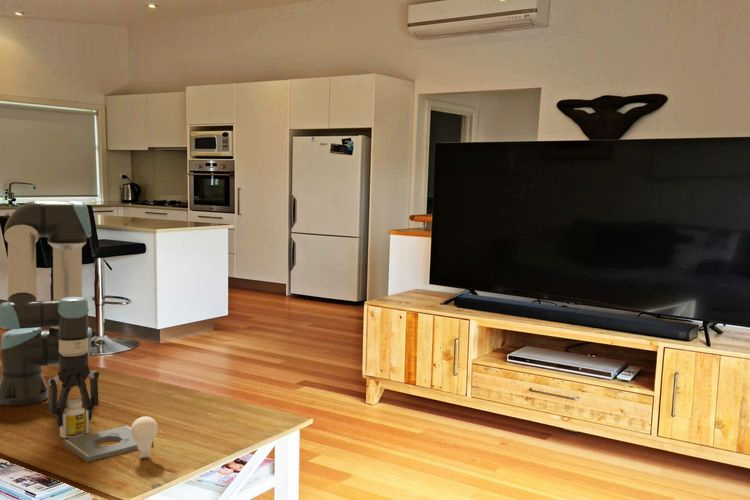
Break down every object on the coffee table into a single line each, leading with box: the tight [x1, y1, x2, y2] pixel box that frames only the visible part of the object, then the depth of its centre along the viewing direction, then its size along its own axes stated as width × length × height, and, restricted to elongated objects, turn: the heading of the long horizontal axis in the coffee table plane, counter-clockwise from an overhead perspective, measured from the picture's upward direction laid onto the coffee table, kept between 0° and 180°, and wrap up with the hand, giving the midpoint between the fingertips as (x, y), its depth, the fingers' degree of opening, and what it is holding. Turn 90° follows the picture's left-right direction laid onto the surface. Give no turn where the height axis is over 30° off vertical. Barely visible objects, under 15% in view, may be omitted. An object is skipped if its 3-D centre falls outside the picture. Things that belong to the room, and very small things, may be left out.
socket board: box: [62, 425, 154, 463], centre depth 185 cm, size 16×18×1 cm
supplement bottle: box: [64, 398, 86, 439], centre depth 191 cm, size 5×5×10 cm
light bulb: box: [131, 415, 159, 459], centre depth 176 cm, size 7×7×11 cm
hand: (74, 434), depth 192 cm, fingers closed on supplement bottle, 5 cm apart
